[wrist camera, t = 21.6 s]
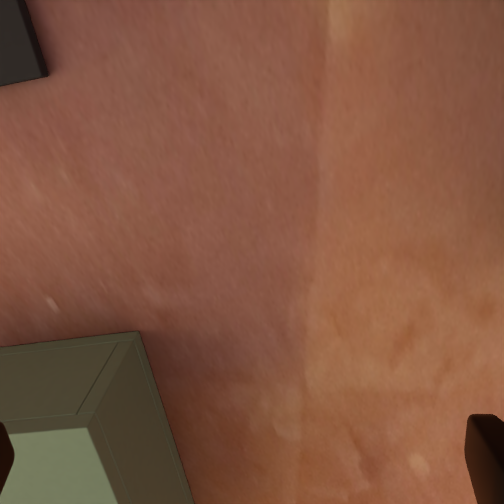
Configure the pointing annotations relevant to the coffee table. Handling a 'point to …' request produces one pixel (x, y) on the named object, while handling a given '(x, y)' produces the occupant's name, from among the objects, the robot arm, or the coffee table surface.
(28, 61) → the mat
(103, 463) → the cabinet
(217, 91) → the coffee table surface
